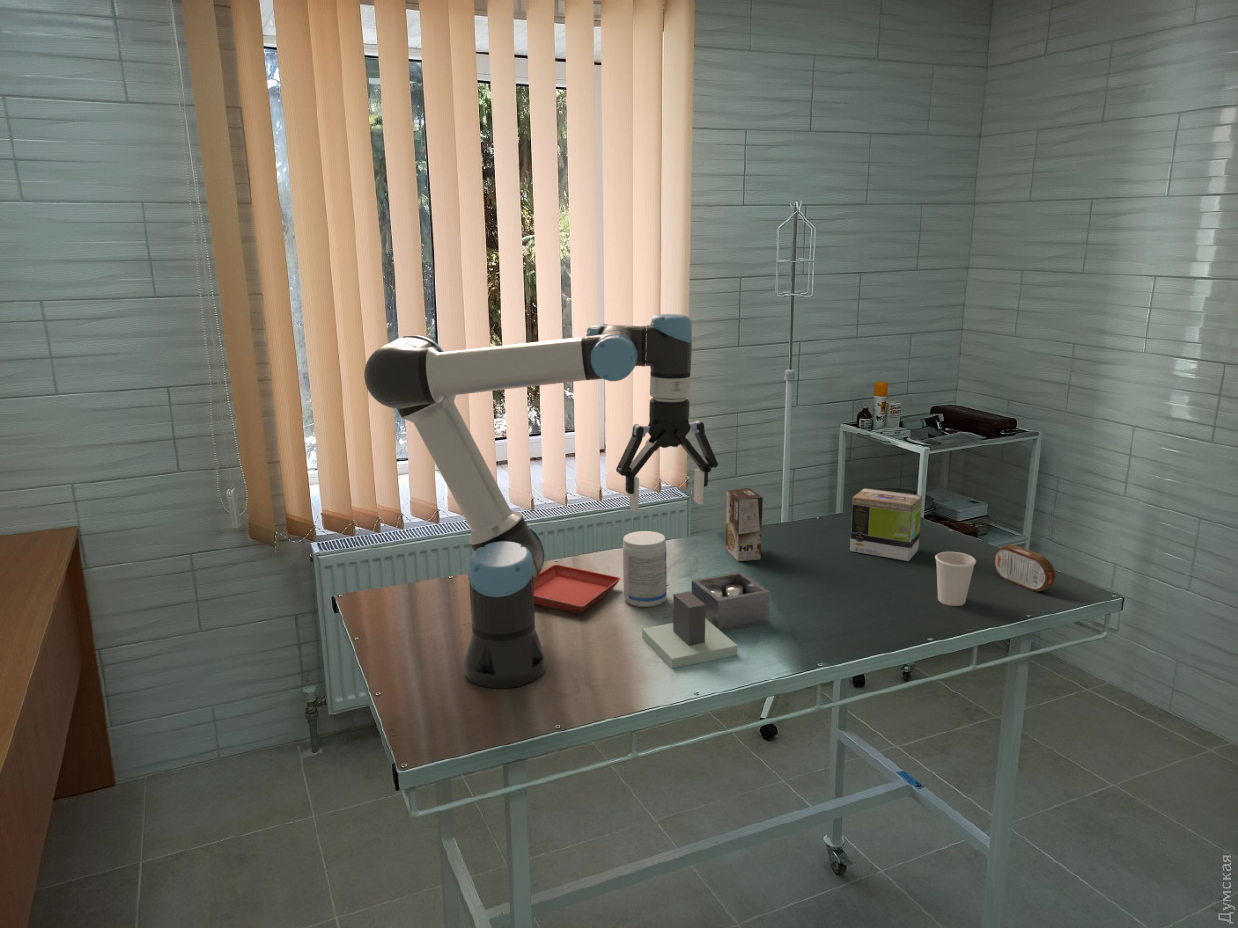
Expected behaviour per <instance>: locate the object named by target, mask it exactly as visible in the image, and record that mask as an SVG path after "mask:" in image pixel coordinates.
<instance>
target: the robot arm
mask: <svg viewBox="0 0 1238 928" xmlns="http://www.w3.org/2000/svg"><path fill="white" fill-rule="evenodd" d="M692 322H693V321H692V320H691V318H690V317H689V316H687V315H685V314H676V313H673V314H672V313H666V314H665V313H664V314H662V313H659V314H655V315H653V316H652V317H651V322H650V324H647V325H627V324H626V325H622V324H608V323H604V324H592V325H589V326H587V329H586V336H580V337H579V336H578V337H570V338H561V339H553V340H552V339H551V340H544V341H534V342H525V343H517V344H516V343H515V344H514V343H513V344H507V345H497V346H490V347H479V348H472V349H461V350H453V351H444V350H443V349H442V347H441V346H440V345H439V344H438V343H437V342H435V341H434V340H432V339H431V338H429V337H426V336H422V335H414V334H413V335H404V336H402V337H401V336H400V337H398V338H396V339H394V340H393V341H391V342H390V343H388V344H384V345H383V346H380V347H379V348H377V349H376V350H374V351H373V352H372V353H371V355H370V356H369V358H368V359H367V361H366V363H365V368H364V372H363V377H364V384H365V386H366V389H367V390H368V392H369V394H370V396H371V397H372V398H373V399H374V400H375V401H376V402H378V403H379V404H380V405H383V406H385V407H387V408H391V409H396V411H397V412H398V414H399V416H400V417H401V419H402V420H406V421H409V422H411V423H413V424H414V426H415V428H416V430H417V432H418V433H419V435H420V437H421V440H422V441H423V443H424V445H425V447H426V449H427V450H428V452H429V454H430V456H431V458H432V459H433V461H434V463H435V465H436V467H437V469H438V470H439V472H440V474H441V476H442V478H443V481H445V484H446V486H447V488H448V489H449V492H450V493H451V495H452V496H453V499H454V500H455V502H456V504H457V506H458V508H459V510H460V512H461V514H462V515H463V518H464V519H465V521H466V523H467V525H468V526H469V528H470V530H471V531H470V532H471V533H470V537H469V538H468V543H469V545H470V547H471V549H472V551H473V552H472V554H471V556H470V557H469V560H468V569H467V576H468V577H467V578H468V582H469V584H468V585H469V598H470V601H469V602H470V615H471V616H470V617H471V630H472V631H471V637H470V641H469V643H468V647H467V650H466V654H465V658H464V674H465V677H466V678H467V679H468V680H469V682H471V683H473V684H475V685H477V686H481V687H484V688H489V689H510V688H515V687H517V688H518V687H520V686H524V685H528V684H529V683H532V682H534V681H535V680H537V679H538V678H539V679H540V677H541V676H542V675H543V674H544V672H545V671H546V668H547V667H546V666H547V665H546V653H545V651H544V648H543V646H542V643H541V641H540V637H539V635H538V633H537V630H536V624H535V621H536V620H535V619H536V618H535V617H536V616H535V604H534V590H535V586H536V583H537V580H538V577H539V574H540V573H541V572H542V571H543V566H544V563H545V547H544V543H543V540H542V538H541V536H540V534H539V533H538V532H537V531H536V530H535V529H534V528H533V527H531V526H529V525H528V524H527V522H526V519H525V518H524V517H523V515H522V513H520V512H518V511H515V510H512V509H511V508H510V506H509V505H508V502H507V500H506V499H505V497H504V495H503V493H502V491H501V489H500V487H499V485H498V483H497V481H496V480H495V477H494V475H493V474H492V472H491V470H490V467H489V466H488V464H487V462H486V460H485V458H484V457H483V455H482V453H481V450H480V449H479V447H478V445H477V444H476V442H475V440H474V438H473V436H472V434H471V431H470V430H469V428H468V426H467V423H466V422H465V420H464V418H463V416H462V414H461V412H460V411H459V409H458V407H457V405H456V403H455V399H456V396H458V395H466V394H475V393H477V394H478V393H485V392H495V391H502V390H513V389H521V388H530V387H538V386H546V385H555V384H564V383H574V382H581V381H582V382H583V381H595V380H596V381H597V380H605V381H609V382H619V381H622V380H625V378H627V377H629V375H631V373H632V372H633V370H634V369H635V368H636V367H649V369H650V373H649V374H650V375H649V378H650V379H649V396H650V397H651V399H649V408H648V409H649V410H648V411H649V415H648V416H649V422H648V425H641V424H638V423H635V424H633V426H632V432H631V437H630V439H629V440H628V443H627V445H626V447H625V450H624V452H623V454H622V456H621V458H620V460H619V462H618V464H617V467H616V468H615V470H616V473H618V474H619V475H621V476H624V477H625V491H626V493H627V494H628V495H629V509H631V510H632V511H633V512H639V503H640V502H639V497H640V495H639V491H640V478H639V477H638V476H637V474H638V473H639V472H640V471H641V470H642V468H643V467H644V466H645V464H646V463H647V462H648V461H649V459H650V458H651V457H652V456H653V455H654V453H655V452H657V451H658V450H659V449H660V448H662V449H667V448H669V447H672V448H678V447H679V445H680V446H681V447H682V449H684V450H685V452H686V453H687V455H688V456H689V457H690V458H691V459H692V460H693V462H694V463H695V464H696V466H697V467H698V468H694V479H693V480H694V481H693V483H694V485H693V501H694V502H695V503H697V504H698V505H704V494H705V493H704V490H705V488H706V487H708V483H709V482H708V481H709V473H710V472H711V471H712V469H713V468H717V467H718V466H719V463H718V461H717V458H716V456H715V454H714V451H713V449H712V447H711V444H710V442H709V440H708V438H707V435H706V432H705V431H706V430H705V423H704V422H702V421H700V420H699V419H695V420H693V422H689V419H690V400H689V399H688V398H689V397H690V396H691V369H692V368H691V367H692V347H693V337H692V335H693V333H692V332H693V331H692V330H693V328H692V327H693V326H692ZM690 431H691V432H692V433H693V434H694V436H695V439H696V441H697V443H698V445H699V448H700V450H701V452H702V455H703V456H704V457H702V456H701V454H699V452H698V451H697V449H696V448H695V447H694V446H693V445H692V443H691V441H690V439H688V438H687V435H688V434H689V433H690ZM647 434H649V437H648V439H647V440H646V442H645V444H644V445H643V447H642V448H641V449H640V451H639V448H640V446H641V444H642V441H643V438H645V437H646V435H647ZM638 451H639V452H638ZM637 452H638V453H637ZM704 459H705V460H704Z"/></svg>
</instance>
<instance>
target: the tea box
mask: <svg viewBox="0 0 1238 928" xmlns="http://www.w3.org/2000/svg"><path fill="white" fill-rule="evenodd" d="M922 502H923V496H922V495H920V494H919V495H918V494H912V493H902V492H897V491H896V492H895V491H889V490H881V489H873V488H868V487H867V488H866V487H864V488H863V489H861V490H860V491H859V492H858V493H857V494H855V495H854V496H852V504H851V519H850V520H851V523H850V524H851V525H850V540H849V541H850V542H849V543H850V545H849V546H850V547H849V550H850V552H853V553H854V552H855V553H861V554H866V555H872V556H877V557H882V558H887V559H888V558H889V559H894V560H899V561H904V562H906V561H907V562H910V561H911V559H912V558H913V557H914V556H915V554H916V553H917V552H918V551H919V546H920V533H921V517H922V507H923V506H922Z"/></svg>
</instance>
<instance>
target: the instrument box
mask: <svg viewBox="0 0 1238 928" xmlns="http://www.w3.org/2000/svg"><path fill="white" fill-rule="evenodd" d="M690 592H691V593H692V594H693V595H694V596H695V597H697V598H698V599H699V600H700V601H702V602H703V603H704V604H705V605H706V608H705V618H706V619H707V620H708V621H709V622H711V623H712V624H713V625H714V626H715V627H716V628H718V629H719V630H720V631H721V632H722V633H725V632H728V631H734V630H739V629H744V628H749V627H753V626H754V627H755V626H759V625H760V626H761V625H764V624H769V620H770V619H769V617H770V616H769V615H770V613H769V612H770V610H769V609H770V591H769V590H768V589H766V588H764V586H762V585H760V584H759V583H758V582H756V581H755V580H753V579H752V578H751V577H749V576H748V575H746V574H745V573H743V572H742V571H737V572H731V573H725V574H719V575H714V576H708V577H707V576H706V577H701V578H697V579H691V591H690Z"/></svg>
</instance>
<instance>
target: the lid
mask: <svg viewBox="0 0 1238 928" xmlns="http://www.w3.org/2000/svg"><path fill="white" fill-rule="evenodd" d="M672 597H673V599H672V601H673V604H672V605H673V607H672V608H673V609H672V613H673V615H672V616H673V618H672V622H671V623H665V624H660V625H655V626H654V625H653V626H648V627H644V628H641V634H642V635H641V636H642V639H643V640H644V641H645V643H647V644H648V646H650V647H651V649H653V651H654V652H656V654H657V655H658V656H659V657H660V658H661V659H662V660H663V661H664V662H665V663H666V664H667V665H668V666H669V667H670V669H675V668H680V667H686V666H691V665H695V664H699V663H704V662H710V661H713V660H719V659H724V658H729V657H730V658H731V657H733V656H738V644H736V643H735V642H734V641H732V639H730V638H729V637H728V636H727V635H726V634H724V632H721V631H720V630H719V629H718V628H716V627H715V626H714V625H713V624H712V623H711V622H709V621H708V620H707V619H706V618H705V608H706V605H705V604H704V603H703V602H702V601H700V600H699V599H698V598H697V597H695V596H694V595H693V594H692V593H691V591H685V592H684V591H683V592H678V593H673V595H672Z"/></svg>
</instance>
